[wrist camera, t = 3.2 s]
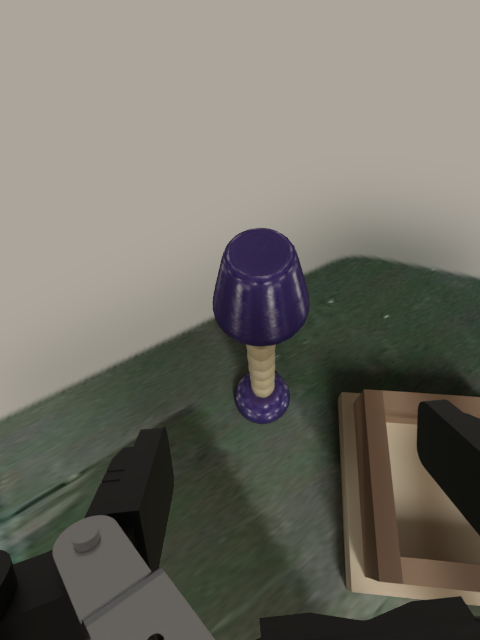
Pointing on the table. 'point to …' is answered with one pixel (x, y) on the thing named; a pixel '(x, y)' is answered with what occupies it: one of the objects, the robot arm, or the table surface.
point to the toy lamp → (261, 314)
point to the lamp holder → (400, 504)
